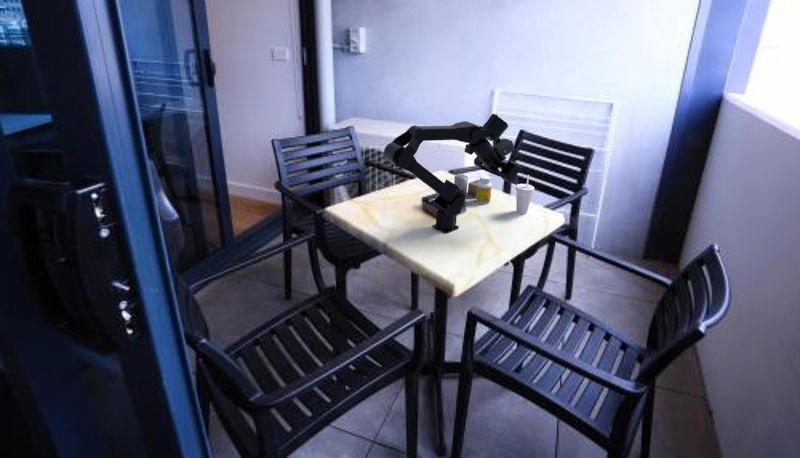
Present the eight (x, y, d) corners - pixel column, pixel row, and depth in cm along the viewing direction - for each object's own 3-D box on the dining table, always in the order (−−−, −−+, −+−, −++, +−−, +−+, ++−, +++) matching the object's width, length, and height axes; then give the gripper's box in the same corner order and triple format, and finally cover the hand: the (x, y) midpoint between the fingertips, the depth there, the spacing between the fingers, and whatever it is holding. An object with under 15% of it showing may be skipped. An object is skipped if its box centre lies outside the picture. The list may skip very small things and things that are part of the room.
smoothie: (532, 216, 167) (538, 178, 160) (514, 215, 167) (519, 177, 161) (528, 208, 172) (533, 172, 166) (510, 208, 172) (515, 171, 166)
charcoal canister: (460, 200, 179) (461, 180, 175) (450, 196, 182) (451, 176, 179) (468, 197, 182) (470, 177, 178) (459, 193, 185) (460, 173, 182)
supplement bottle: (474, 203, 176) (476, 178, 172) (477, 198, 181) (479, 174, 177) (488, 205, 175) (491, 180, 171) (491, 200, 179) (494, 175, 175)
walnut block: (477, 198, 181) (478, 186, 179) (467, 194, 184) (468, 182, 182) (487, 195, 184) (488, 182, 182) (477, 191, 188) (478, 179, 186)
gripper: (520, 139, 144) (543, 169, 153) (484, 125, 159) (506, 154, 168) (496, 167, 144) (520, 195, 153) (462, 151, 159) (486, 178, 168)
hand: (508, 179), depth 160 cm, fingers open, 9 cm apart
